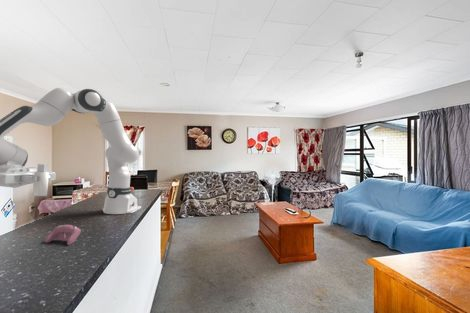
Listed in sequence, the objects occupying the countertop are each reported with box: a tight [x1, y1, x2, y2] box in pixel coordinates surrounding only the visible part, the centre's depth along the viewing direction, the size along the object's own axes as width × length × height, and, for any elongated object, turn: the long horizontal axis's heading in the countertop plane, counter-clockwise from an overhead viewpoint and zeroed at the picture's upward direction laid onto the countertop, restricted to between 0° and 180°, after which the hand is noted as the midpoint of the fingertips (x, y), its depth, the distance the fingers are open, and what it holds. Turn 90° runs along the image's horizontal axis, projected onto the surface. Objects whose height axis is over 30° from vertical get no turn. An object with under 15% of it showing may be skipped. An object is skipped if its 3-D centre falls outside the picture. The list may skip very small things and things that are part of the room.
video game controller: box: [45, 224, 82, 246], centre depth 82 cm, size 10×5×7 cm, turn 85°
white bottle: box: [32, 163, 49, 197], centre depth 87 cm, size 3×5×12 cm, turn 81°
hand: (43, 178), depth 87 cm, fingers closed on white bottle, 3 cm apart
